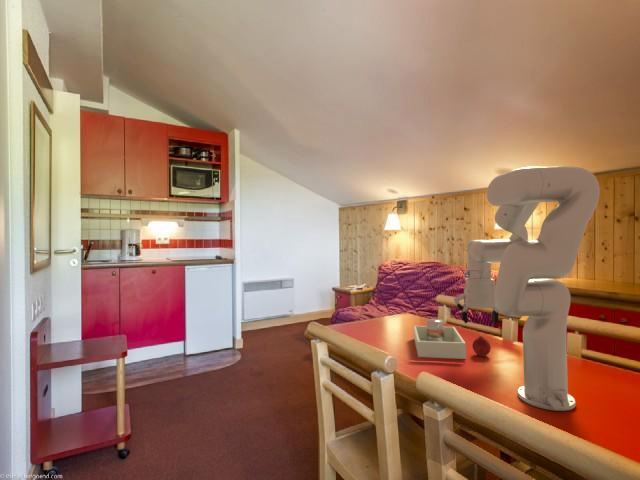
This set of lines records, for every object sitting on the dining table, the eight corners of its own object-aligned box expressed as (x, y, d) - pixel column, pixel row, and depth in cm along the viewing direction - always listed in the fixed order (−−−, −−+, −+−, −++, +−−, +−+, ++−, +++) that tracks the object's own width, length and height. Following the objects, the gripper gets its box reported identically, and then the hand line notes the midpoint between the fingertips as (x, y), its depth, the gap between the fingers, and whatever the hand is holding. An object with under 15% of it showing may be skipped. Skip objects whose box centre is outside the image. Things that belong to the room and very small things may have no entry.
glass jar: (445, 345, 133) (444, 322, 133) (428, 345, 134) (427, 322, 134) (443, 340, 139) (442, 318, 139) (426, 340, 141) (425, 318, 141)
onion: (492, 360, 118) (492, 337, 118) (475, 359, 119) (474, 336, 119) (488, 354, 124) (487, 332, 124) (471, 354, 125) (470, 332, 125)
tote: (466, 360, 119) (465, 343, 119) (418, 358, 122) (417, 341, 122) (454, 341, 140) (454, 326, 140) (414, 340, 143) (413, 325, 143)
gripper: (455, 276, 119) (456, 324, 120) (509, 276, 116) (510, 326, 117) (451, 273, 127) (452, 319, 127) (502, 273, 123) (502, 320, 124)
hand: (479, 322), depth 122 cm, fingers open, 9 cm apart
